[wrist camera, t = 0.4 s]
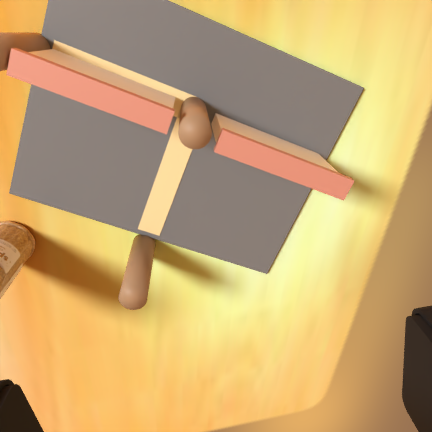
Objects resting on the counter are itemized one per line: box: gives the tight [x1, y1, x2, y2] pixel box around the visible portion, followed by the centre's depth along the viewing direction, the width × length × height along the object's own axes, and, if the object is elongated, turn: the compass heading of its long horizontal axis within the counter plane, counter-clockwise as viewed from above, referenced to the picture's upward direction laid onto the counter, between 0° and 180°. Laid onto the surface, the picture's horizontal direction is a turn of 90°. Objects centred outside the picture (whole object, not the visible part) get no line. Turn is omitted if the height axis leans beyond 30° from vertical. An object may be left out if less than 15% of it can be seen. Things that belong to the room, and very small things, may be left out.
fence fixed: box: [0, 33, 212, 310], centre depth 31 cm, size 16×15×9 cm
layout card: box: [9, 0, 364, 274], centre depth 35 cm, size 20×26×1 cm
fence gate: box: [211, 113, 354, 200], centre depth 31 cm, size 10×2×8 cm, turn 68°
